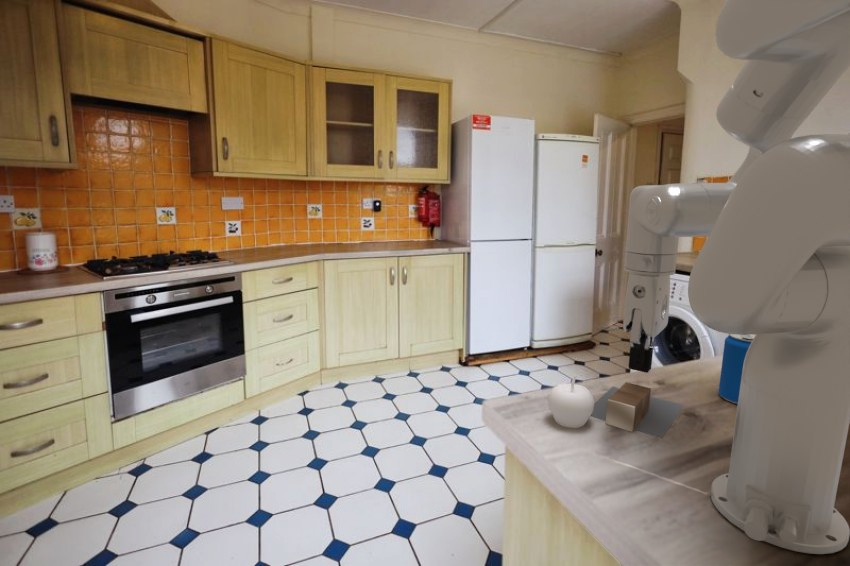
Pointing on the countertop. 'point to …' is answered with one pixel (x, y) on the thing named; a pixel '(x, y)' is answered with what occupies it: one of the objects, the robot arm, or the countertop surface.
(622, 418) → the block
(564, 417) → the plain white apple
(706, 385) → the countertop surface
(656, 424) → the mat
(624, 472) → the countertop surface
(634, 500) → the countertop surface
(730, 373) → the beverage can
